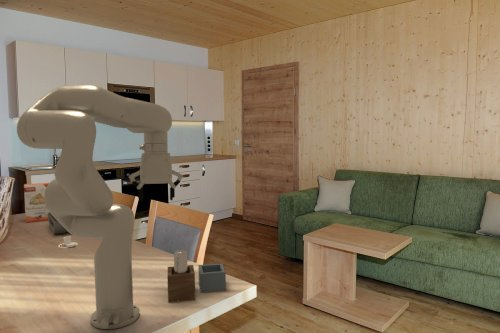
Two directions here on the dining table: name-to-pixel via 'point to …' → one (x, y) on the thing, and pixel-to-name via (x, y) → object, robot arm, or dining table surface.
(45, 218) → the cracker box
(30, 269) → the dining table surface
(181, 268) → the steel axle
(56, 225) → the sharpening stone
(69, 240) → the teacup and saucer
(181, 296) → the brown wooden socket block
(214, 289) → the blue-grey square holder
